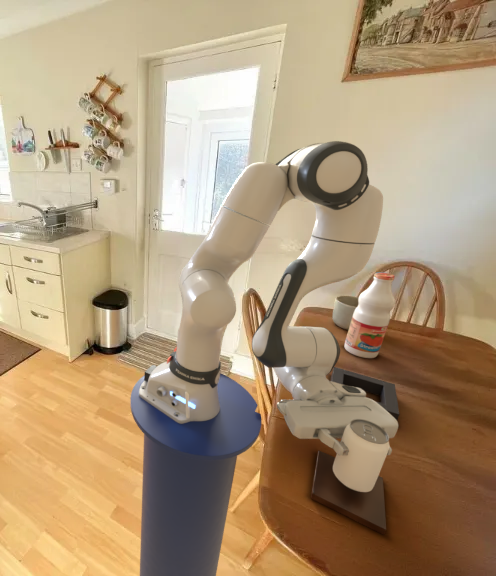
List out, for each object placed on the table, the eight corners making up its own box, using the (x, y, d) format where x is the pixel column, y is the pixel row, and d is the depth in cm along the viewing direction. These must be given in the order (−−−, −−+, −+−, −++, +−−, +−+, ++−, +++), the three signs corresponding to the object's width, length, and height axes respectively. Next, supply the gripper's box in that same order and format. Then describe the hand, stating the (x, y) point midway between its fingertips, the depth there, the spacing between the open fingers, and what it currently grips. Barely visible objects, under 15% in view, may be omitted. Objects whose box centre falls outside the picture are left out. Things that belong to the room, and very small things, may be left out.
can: (331, 481, 60) (347, 434, 55) (332, 457, 65) (347, 412, 60) (374, 500, 56) (394, 451, 52) (371, 473, 61) (390, 426, 57)
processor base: (327, 402, 85) (330, 390, 83) (331, 376, 95) (334, 365, 94) (394, 425, 77) (400, 413, 75) (390, 394, 87) (395, 382, 86)
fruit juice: (358, 342, 113) (382, 268, 103) (384, 357, 104) (413, 278, 94) (336, 345, 111) (358, 271, 101) (361, 360, 102) (387, 280, 92)
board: (310, 498, 60) (312, 493, 60) (317, 455, 69) (318, 450, 69) (383, 535, 54) (386, 529, 54) (380, 482, 63) (382, 477, 63)
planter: (367, 325, 125) (375, 300, 121) (366, 337, 116) (375, 311, 112) (330, 316, 132) (337, 293, 128) (327, 328, 123) (334, 302, 119)
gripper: (275, 389, 69) (312, 440, 56) (369, 388, 68) (427, 439, 56) (270, 411, 71) (305, 465, 58) (361, 410, 71) (416, 465, 58)
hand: (366, 453), depth 57 cm, fingers closed on can, 6 cm apart
